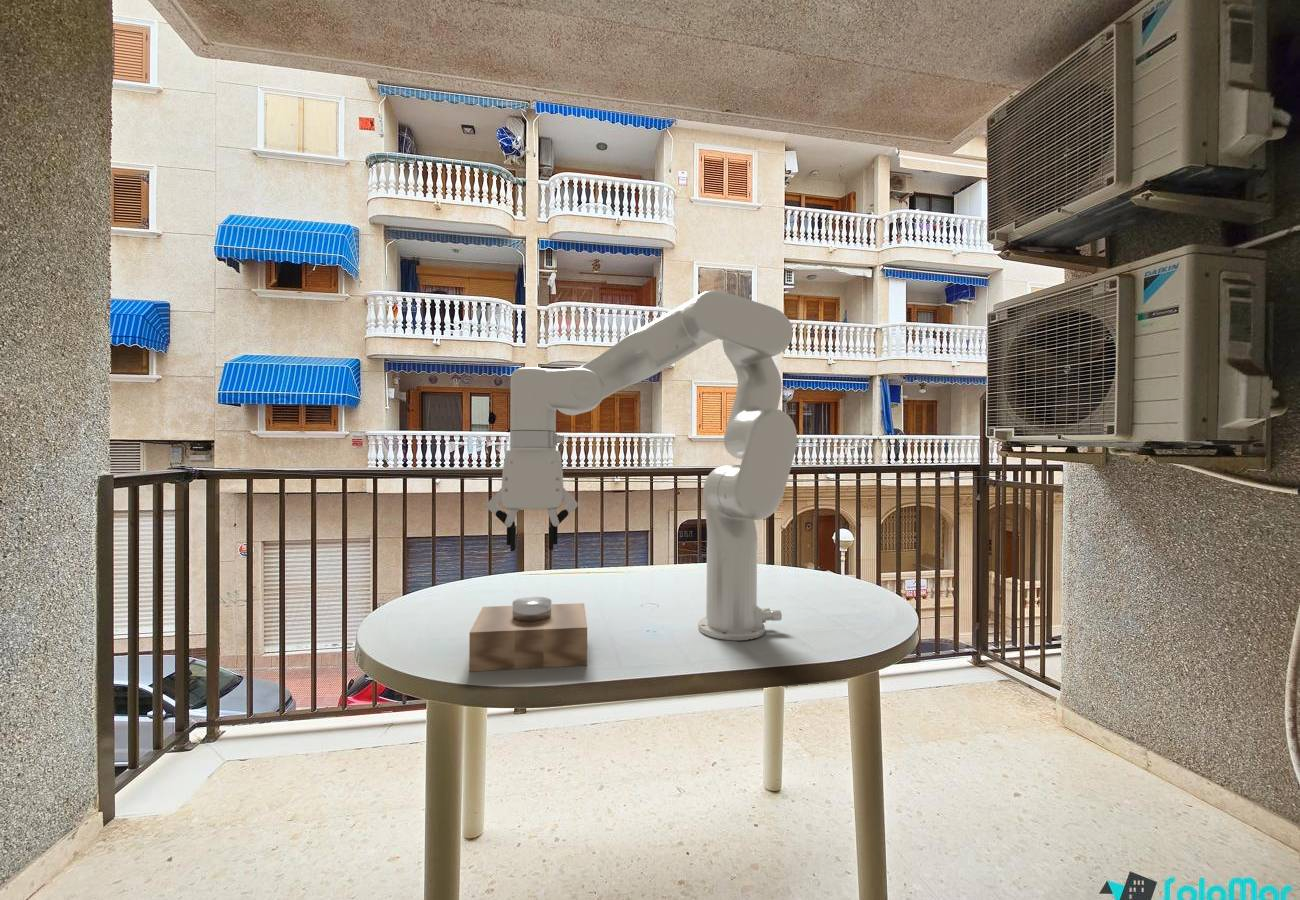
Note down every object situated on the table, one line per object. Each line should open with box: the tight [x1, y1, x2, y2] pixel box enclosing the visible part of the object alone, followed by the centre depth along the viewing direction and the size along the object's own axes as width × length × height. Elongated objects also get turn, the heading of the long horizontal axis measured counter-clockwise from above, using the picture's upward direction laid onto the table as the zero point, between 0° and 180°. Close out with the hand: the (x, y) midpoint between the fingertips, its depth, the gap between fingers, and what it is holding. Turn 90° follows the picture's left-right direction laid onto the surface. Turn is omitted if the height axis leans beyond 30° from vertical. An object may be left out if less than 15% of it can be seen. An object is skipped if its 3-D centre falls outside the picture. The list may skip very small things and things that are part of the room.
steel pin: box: [512, 596, 552, 622], centre depth 93 cm, size 6×6×8 cm
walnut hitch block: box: [468, 602, 588, 672], centre depth 93 cm, size 18×14×6 cm
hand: (532, 548), depth 93 cm, fingers open, 5 cm apart
